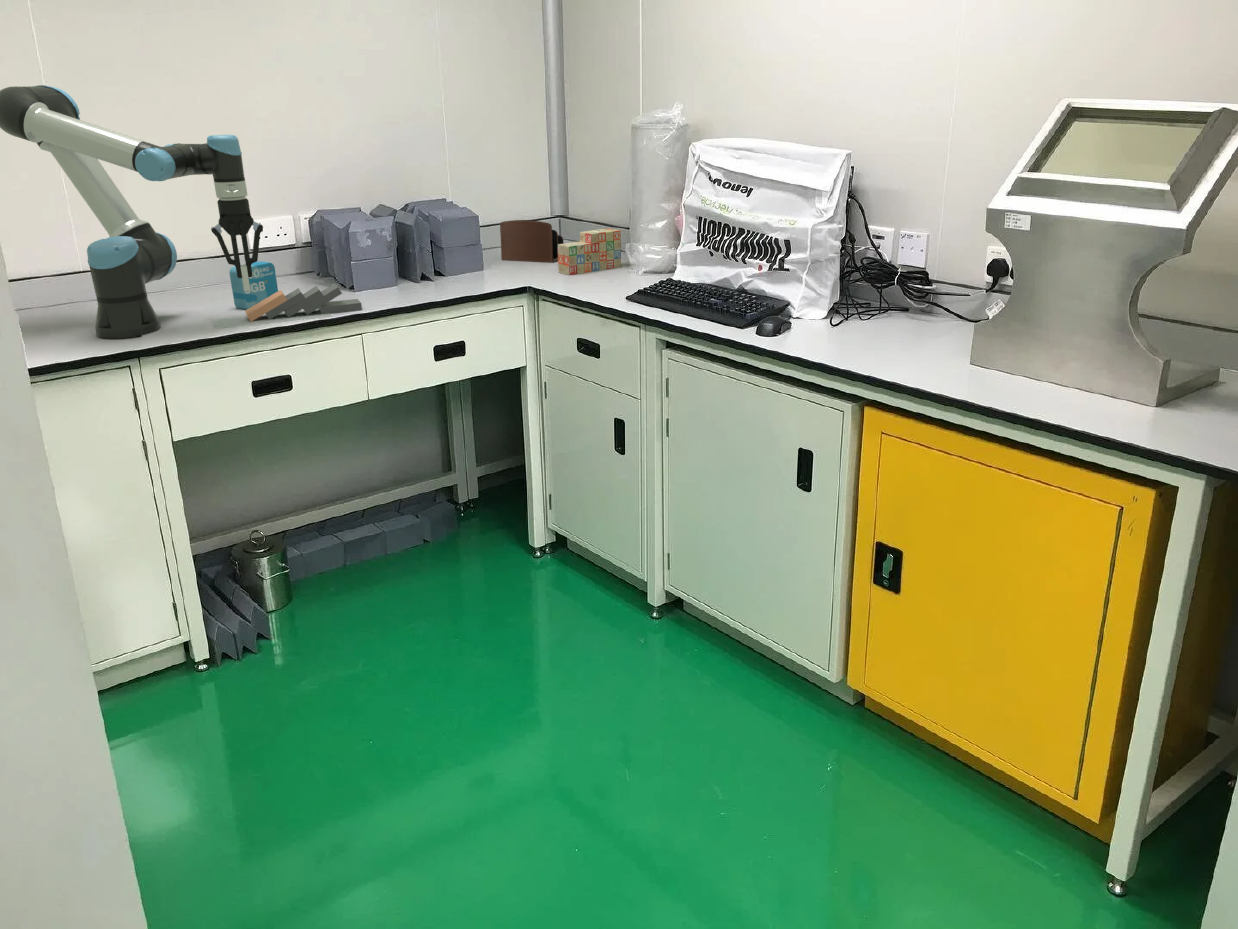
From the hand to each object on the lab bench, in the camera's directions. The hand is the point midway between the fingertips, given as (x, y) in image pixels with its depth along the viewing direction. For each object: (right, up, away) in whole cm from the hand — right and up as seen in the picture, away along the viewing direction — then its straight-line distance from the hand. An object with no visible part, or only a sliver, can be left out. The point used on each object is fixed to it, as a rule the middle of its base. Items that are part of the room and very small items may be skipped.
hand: (247, 289), depth 260 cm
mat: (+5, -7, +4) cm, 10 cm away
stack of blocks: (+89, +17, +62) cm, 110 cm away
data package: (-4, -2, +20) cm, 20 cm away
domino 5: (+16, -4, +9) cm, 19 cm away
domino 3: (+8, -5, +6) cm, 11 cm away
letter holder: (+68, +25, +83) cm, 111 cm away
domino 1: (-1, -7, +2) cm, 7 cm away
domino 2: (+4, -6, +4) cm, 8 cm away
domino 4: (+13, -4, +8) cm, 15 cm away
